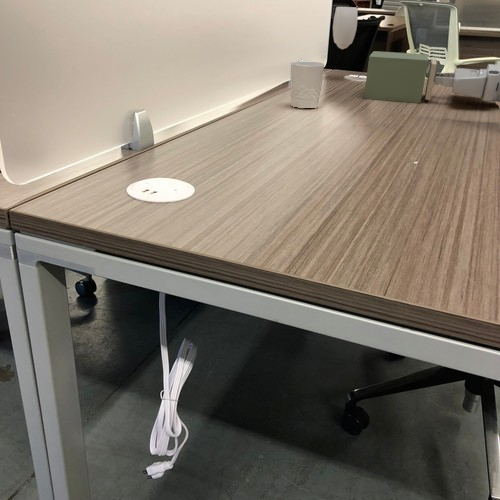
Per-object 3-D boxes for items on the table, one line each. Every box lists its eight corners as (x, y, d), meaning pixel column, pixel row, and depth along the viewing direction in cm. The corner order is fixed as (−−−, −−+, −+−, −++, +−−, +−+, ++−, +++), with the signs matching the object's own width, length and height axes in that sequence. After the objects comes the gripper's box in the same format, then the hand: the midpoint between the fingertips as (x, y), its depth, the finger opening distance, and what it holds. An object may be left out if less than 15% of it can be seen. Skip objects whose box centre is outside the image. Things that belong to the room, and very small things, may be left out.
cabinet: (420, 94, 142) (428, 54, 137) (420, 103, 131) (428, 60, 126) (368, 90, 146) (373, 51, 141) (363, 98, 135) (369, 56, 130)
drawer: (434, 92, 140) (440, 59, 136) (434, 100, 131) (441, 64, 126) (380, 88, 144) (384, 55, 140) (377, 95, 134) (381, 60, 130)
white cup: (283, 103, 126) (285, 61, 121) (311, 102, 128) (314, 60, 124) (296, 110, 119) (299, 66, 115) (326, 109, 122) (330, 65, 117)
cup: (326, 80, 159) (333, 7, 149) (329, 76, 165) (335, 6, 156) (349, 81, 158) (358, 8, 148) (351, 78, 164) (359, 7, 154)
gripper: (492, 64, 136) (438, 60, 141) (496, 75, 119) (435, 70, 124) (486, 88, 139) (434, 84, 144) (489, 102, 122) (430, 97, 126)
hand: (434, 78), depth 133 cm, fingers open, 5 cm apart
